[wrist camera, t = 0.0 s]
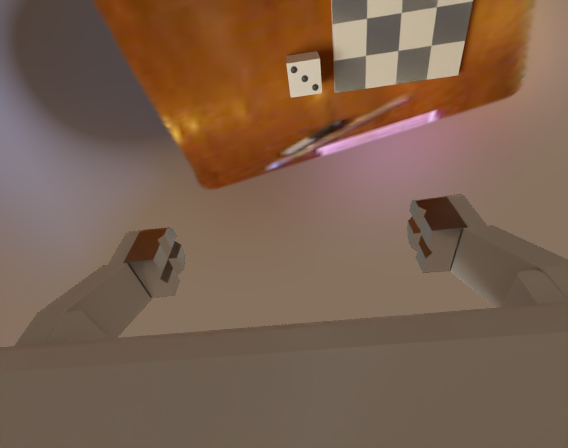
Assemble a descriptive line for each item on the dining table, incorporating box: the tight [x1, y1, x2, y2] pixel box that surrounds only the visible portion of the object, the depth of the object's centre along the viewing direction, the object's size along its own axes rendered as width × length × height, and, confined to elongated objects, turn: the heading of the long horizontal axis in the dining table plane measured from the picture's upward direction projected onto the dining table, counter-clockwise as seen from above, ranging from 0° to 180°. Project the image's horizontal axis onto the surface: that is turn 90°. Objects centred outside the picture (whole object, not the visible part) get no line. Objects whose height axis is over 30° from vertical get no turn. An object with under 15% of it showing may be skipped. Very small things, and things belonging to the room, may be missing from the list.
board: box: [331, 0, 473, 93], centre depth 46 cm, size 20×20×1 cm
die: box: [286, 51, 322, 97], centre depth 50 cm, size 5×5×5 cm
